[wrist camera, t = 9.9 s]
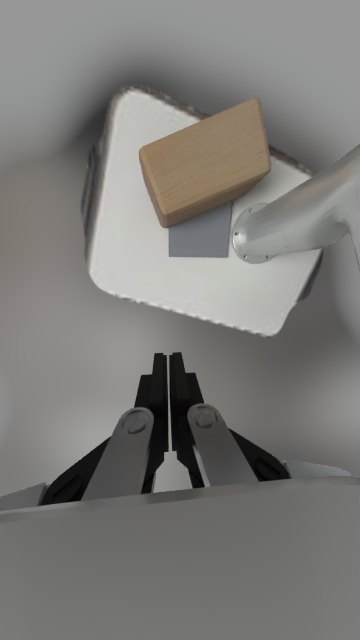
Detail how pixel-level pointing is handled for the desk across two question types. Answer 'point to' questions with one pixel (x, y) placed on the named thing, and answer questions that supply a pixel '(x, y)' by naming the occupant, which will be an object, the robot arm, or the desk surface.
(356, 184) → the robot arm
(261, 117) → the wooden block
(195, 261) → the desk surface
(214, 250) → the mat
